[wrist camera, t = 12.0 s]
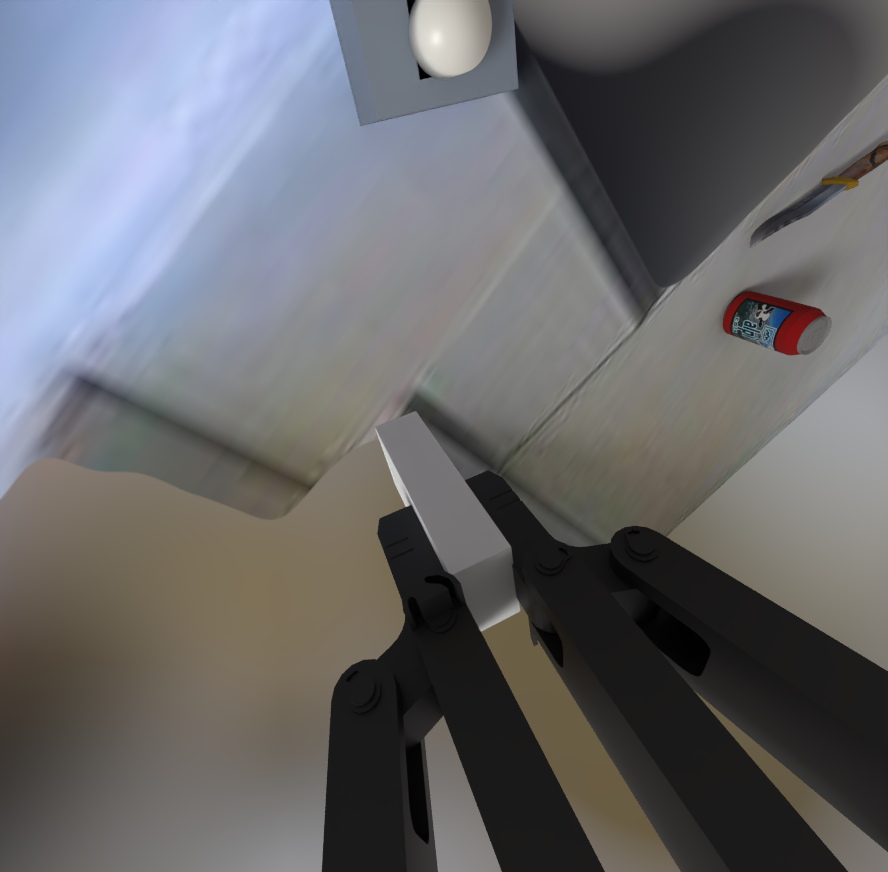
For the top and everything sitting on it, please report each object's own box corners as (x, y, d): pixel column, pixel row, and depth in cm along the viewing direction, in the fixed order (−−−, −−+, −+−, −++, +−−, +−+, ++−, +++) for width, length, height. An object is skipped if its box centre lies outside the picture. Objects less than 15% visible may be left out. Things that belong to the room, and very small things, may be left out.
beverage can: (720, 301, 64) (801, 325, 55) (755, 282, 65) (841, 302, 56) (716, 339, 69) (791, 367, 59) (749, 321, 69) (828, 346, 60)
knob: (396, 94, 35) (431, 79, 29) (380, 11, 32) (415, -25, 26) (450, 82, 36) (495, 65, 30) (439, 1, 33) (487, -36, 27)
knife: (733, 249, 60) (767, 256, 56) (733, 241, 59) (768, 246, 55) (873, 144, 60) (917, 143, 56) (874, 134, 59) (919, 132, 55)
